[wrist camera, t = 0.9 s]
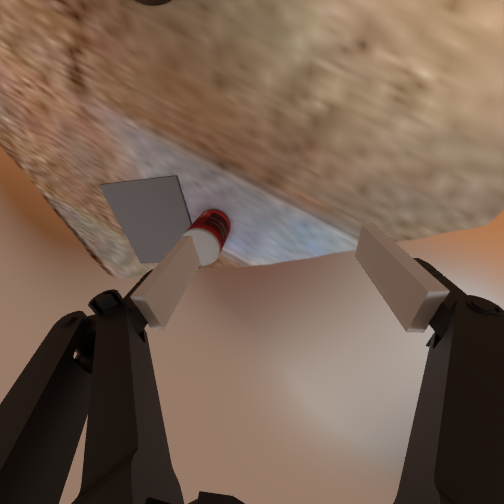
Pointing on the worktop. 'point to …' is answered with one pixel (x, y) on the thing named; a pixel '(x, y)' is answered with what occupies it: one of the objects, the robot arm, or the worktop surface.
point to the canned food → (209, 235)
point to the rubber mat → (149, 214)
